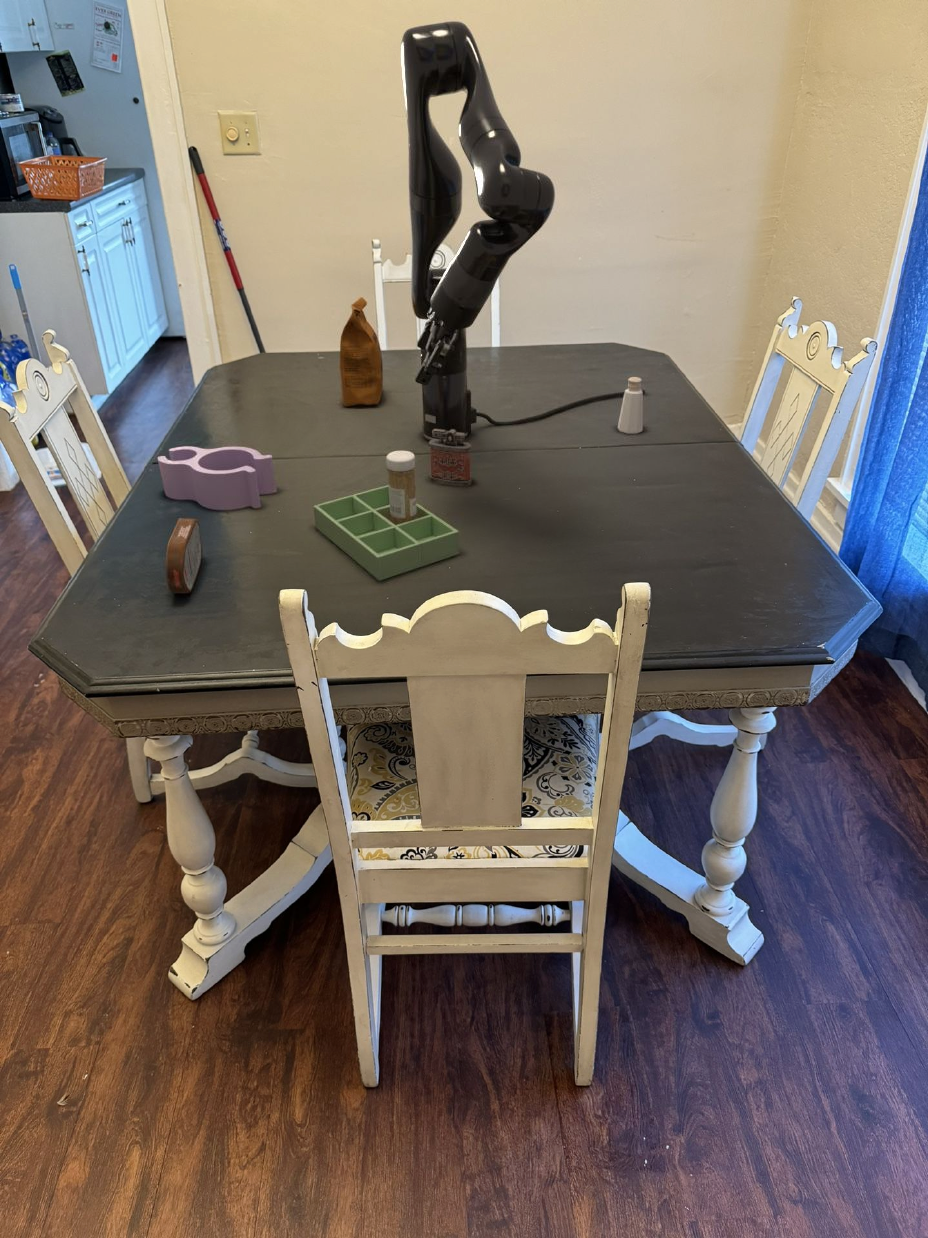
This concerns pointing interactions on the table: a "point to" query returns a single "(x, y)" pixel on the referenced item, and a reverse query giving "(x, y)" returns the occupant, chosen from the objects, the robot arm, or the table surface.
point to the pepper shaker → (632, 408)
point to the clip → (218, 476)
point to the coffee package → (360, 360)
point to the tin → (183, 556)
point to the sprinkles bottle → (402, 486)
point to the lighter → (450, 458)
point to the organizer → (385, 533)
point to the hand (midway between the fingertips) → (421, 364)
